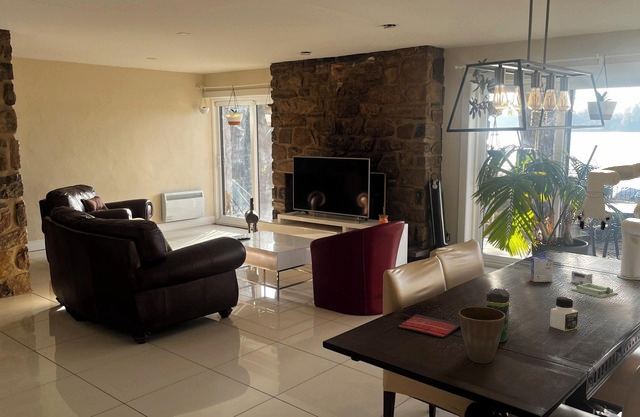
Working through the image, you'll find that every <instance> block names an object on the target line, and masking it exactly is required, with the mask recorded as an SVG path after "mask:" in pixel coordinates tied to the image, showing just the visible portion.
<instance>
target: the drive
mask: <svg viewBox="0 0 640 417" xmlns="http://www.w3.org/2000/svg"><path fill="white" fill-rule="evenodd" d="M593 274H594V273H592V272H591V273H590V272H587V271H584V270H583V271H582V270H578V269H575V270H571V278H570V279H571V283H572V284H573V283H574V284H576V285H580V281H583V284H587V283H590V284H593Z"/></svg>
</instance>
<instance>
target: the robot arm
mask: <svg viewBox="0 0 640 417" xmlns="http://www.w3.org/2000/svg"><path fill="white" fill-rule="evenodd" d="M637 178H640V159H638V160H634V161H632V162H628V163H624V164H618V165H617V164H616V165H612V166H611V165H610V166H607V167H602V168H598V169H595V170H590V171H588V174H587V186H586V187H587V188H586V197H584V199H583V202H582V205H581V206H582V207H581V209H579V210H577V211H574V214H575V216H576V218H577V219H578V220H579V228H580V229H581V230H584V229H585V220H586V219H600V220H601V222H600V231H605V229H606V223H607V222H608V221H609V220H611V218H612V216H613V213H611V212H609V211H608V210H606V200H605V198H604V197H607V193H605V191H604V190H605V186H608V187H614V186H617V185H618V184H619V183H620V182H621V181H630V180H635V179H637ZM580 214H581V216H580ZM606 214H607V216H606ZM632 214H633V216H634V217H628V218H625V219H623V220H622V222H621V224H620V232H621V258H620V272H618V273H617V275H616V276H617V277H618V278H619V279H623V280H630V281H640V200H639V201H637V204H636V205H635V207H634V210H633V213H632Z"/></svg>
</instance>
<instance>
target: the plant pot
mask: <svg viewBox="0 0 640 417" xmlns="http://www.w3.org/2000/svg"><path fill="white" fill-rule="evenodd" d="M458 317H459V324H460V326H461V328H460V331H461V335H462V340H463V344H464V346H465V351H466V353H467V356H468V358H469V360H470V361H472V362H473V363H476V364H489V363H491V362H492V360H494V359H493V358H494V357H495V355H496V352H497V349H498V346H499V344H500V342H499V341H500V338H501V335H502V331H503V326H504V321H505V314H504V313H503V312H501V311H499V310H497V309H493V308H487V307H486V306H468V307H463V308H461V309H460V310H459V311H458Z"/></svg>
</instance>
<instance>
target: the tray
mask: <svg viewBox="0 0 640 417" xmlns="http://www.w3.org/2000/svg"><path fill="white" fill-rule="evenodd" d="M570 290H571V291H573V292H577V293H580V294H584V295H588V296H591V295H592V297H596V298H600V299H603V298H608V297H612V296H617V295H619V294H618V292H617V291H614V289H613V288H611V287H607V286H602V285H598V284H595V283H592V284H590V283H587V284H583V281H580V284H576V286H575V287H571V289H570Z"/></svg>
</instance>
